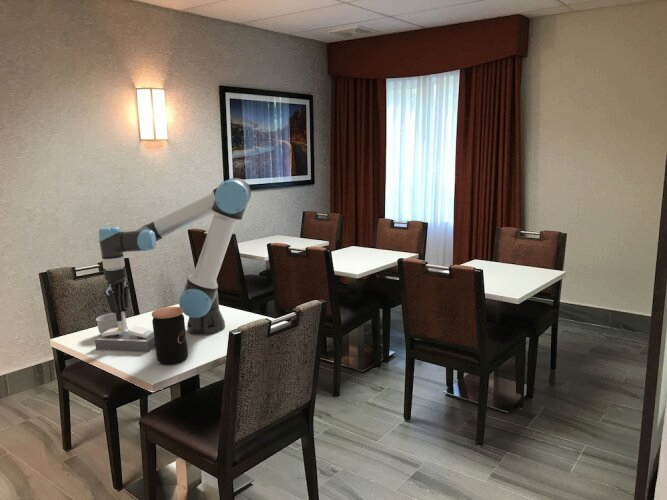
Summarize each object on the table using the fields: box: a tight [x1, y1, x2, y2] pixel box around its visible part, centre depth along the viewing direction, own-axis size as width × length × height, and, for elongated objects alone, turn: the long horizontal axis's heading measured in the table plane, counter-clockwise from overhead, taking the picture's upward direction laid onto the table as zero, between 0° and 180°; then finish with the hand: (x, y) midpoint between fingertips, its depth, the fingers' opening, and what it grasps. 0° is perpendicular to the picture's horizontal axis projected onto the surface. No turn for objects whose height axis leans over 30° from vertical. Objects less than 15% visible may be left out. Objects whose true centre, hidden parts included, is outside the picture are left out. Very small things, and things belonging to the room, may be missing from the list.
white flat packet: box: [127, 325, 154, 338], centre depth 206 cm, size 8×5×1 cm, turn 79°
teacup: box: [95, 312, 118, 335], centre depth 223 cm, size 14×11×8 cm
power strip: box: [94, 330, 156, 353], centre depth 208 cm, size 26×10×5 cm, turn 78°
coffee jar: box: [151, 306, 189, 366], centre depth 191 cm, size 11×11×18 cm
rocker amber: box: [101, 326, 129, 336], centre depth 209 cm, size 8×5×1 cm, turn 77°
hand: (122, 328), depth 208 cm, fingers closed
